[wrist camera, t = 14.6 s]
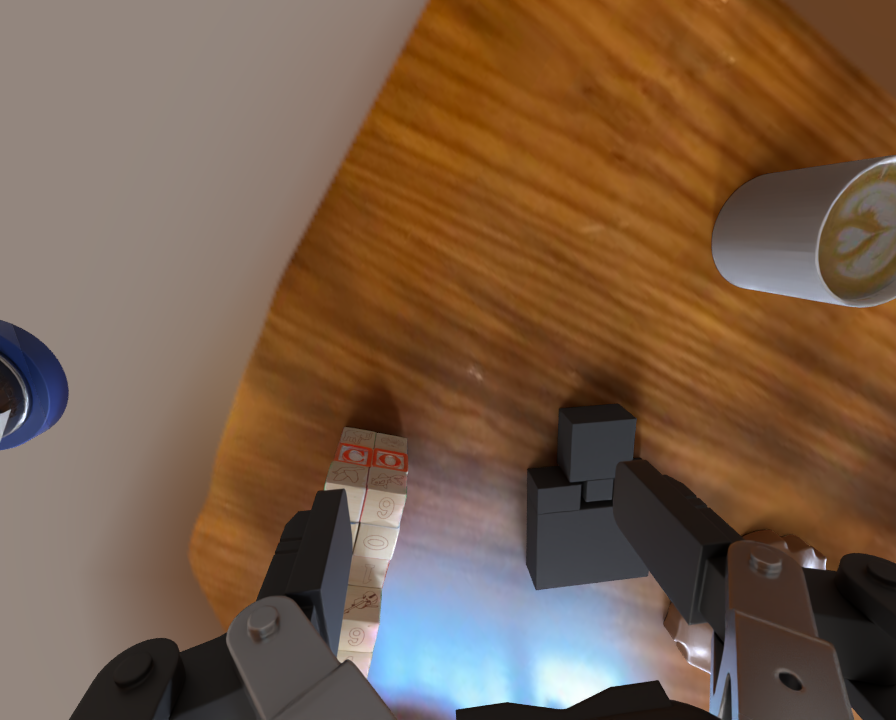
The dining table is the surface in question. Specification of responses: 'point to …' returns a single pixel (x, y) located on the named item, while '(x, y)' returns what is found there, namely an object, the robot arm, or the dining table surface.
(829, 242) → the coffee mug
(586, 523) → the notch pad
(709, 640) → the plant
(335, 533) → the robot arm
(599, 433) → the pad
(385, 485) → the stack of blocks
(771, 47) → the dining table surface
